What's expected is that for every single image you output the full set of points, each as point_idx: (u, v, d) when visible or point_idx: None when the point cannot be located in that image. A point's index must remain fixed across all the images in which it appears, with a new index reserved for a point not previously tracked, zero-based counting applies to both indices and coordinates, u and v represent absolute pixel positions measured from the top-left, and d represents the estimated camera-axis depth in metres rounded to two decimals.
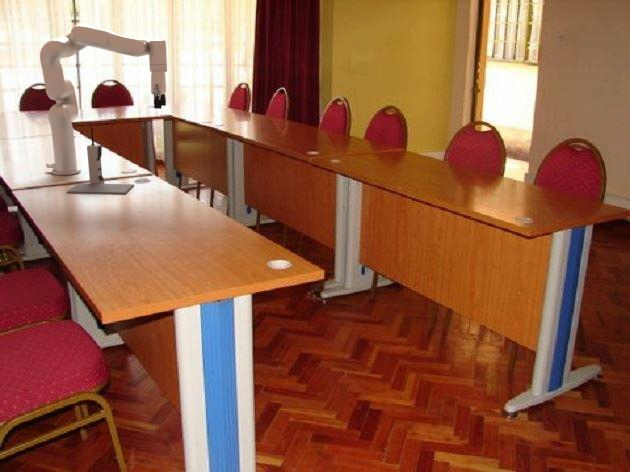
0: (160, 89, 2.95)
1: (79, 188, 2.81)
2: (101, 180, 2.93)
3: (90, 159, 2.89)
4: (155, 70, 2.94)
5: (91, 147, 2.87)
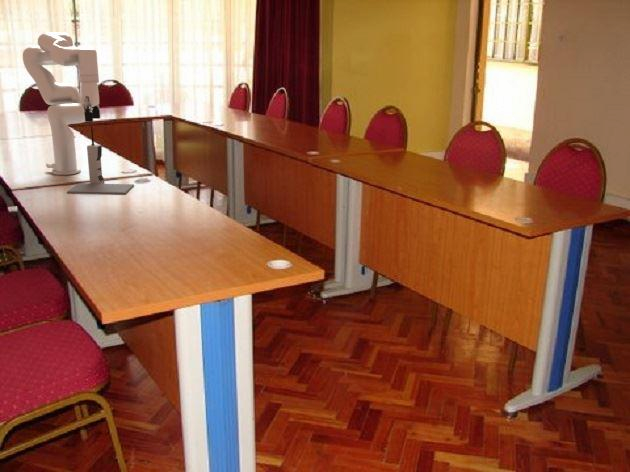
0: (91, 101, 2.78)
1: (79, 188, 2.81)
2: (101, 180, 2.93)
3: (90, 159, 2.89)
4: (85, 81, 2.77)
5: (91, 147, 2.87)
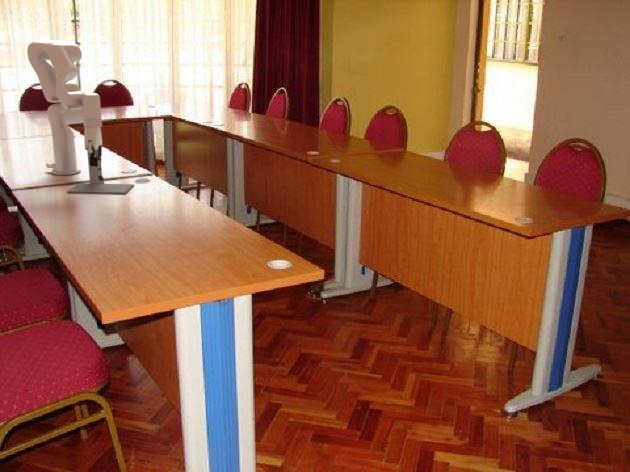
0: (94, 145, 2.84)
1: (79, 188, 2.81)
2: (101, 180, 2.93)
3: None
4: (88, 125, 2.83)
5: None
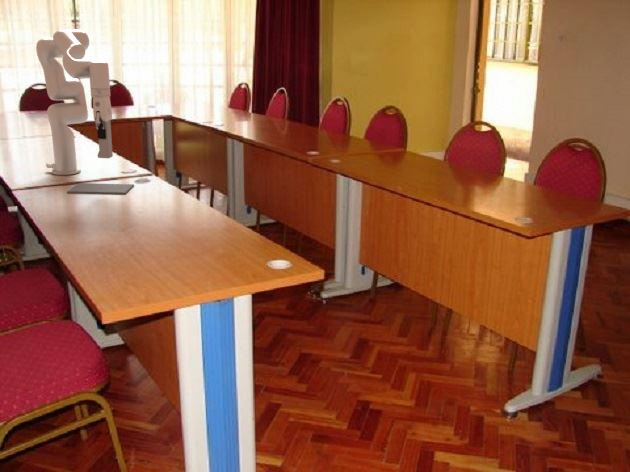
0: None
1: (79, 188, 2.81)
2: None
3: None
4: None
5: None
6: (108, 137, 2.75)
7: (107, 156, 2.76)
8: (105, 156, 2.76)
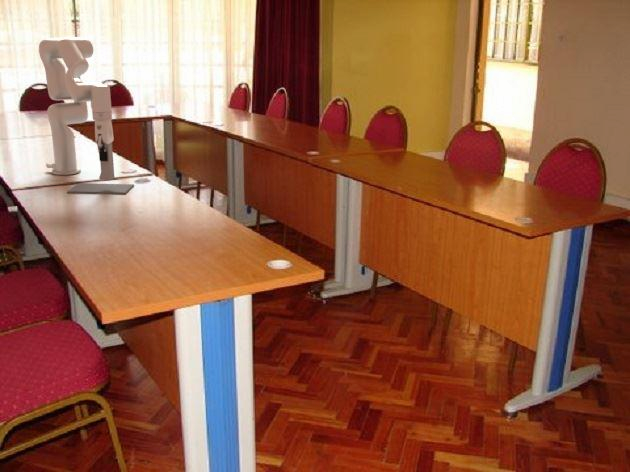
0: None
1: (79, 188, 2.81)
2: None
3: None
4: None
5: None
6: (110, 159, 2.77)
7: (109, 178, 2.79)
8: (107, 178, 2.79)
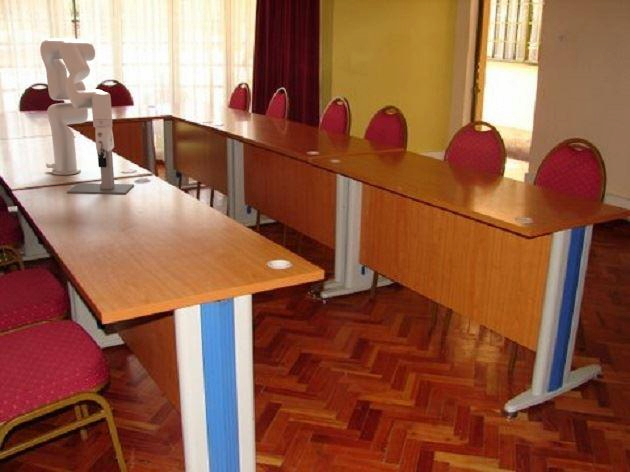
0: None
1: (79, 188, 2.81)
2: None
3: None
4: None
5: None
6: (110, 169, 2.79)
7: (109, 187, 2.81)
8: (107, 187, 2.81)
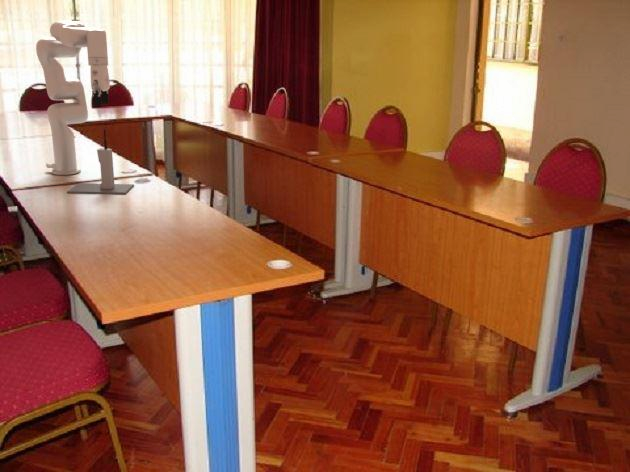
0: None
1: (79, 188, 2.81)
2: None
3: None
4: None
5: None
6: (110, 169, 2.79)
7: (109, 187, 2.81)
8: (107, 187, 2.81)
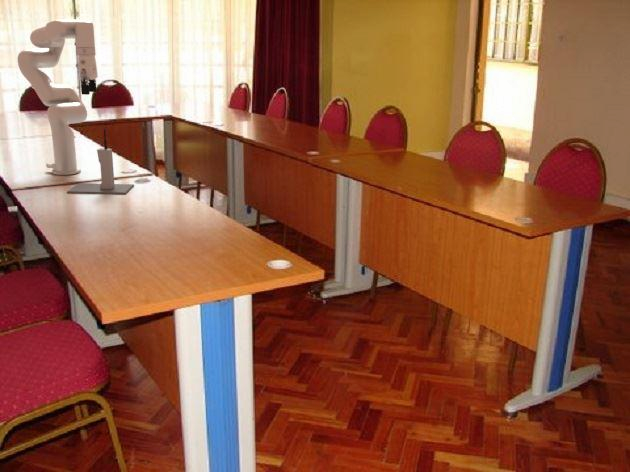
0: None
1: (79, 188, 2.81)
2: None
3: None
4: None
5: None
6: (110, 169, 2.79)
7: (109, 187, 2.81)
8: (107, 187, 2.81)
